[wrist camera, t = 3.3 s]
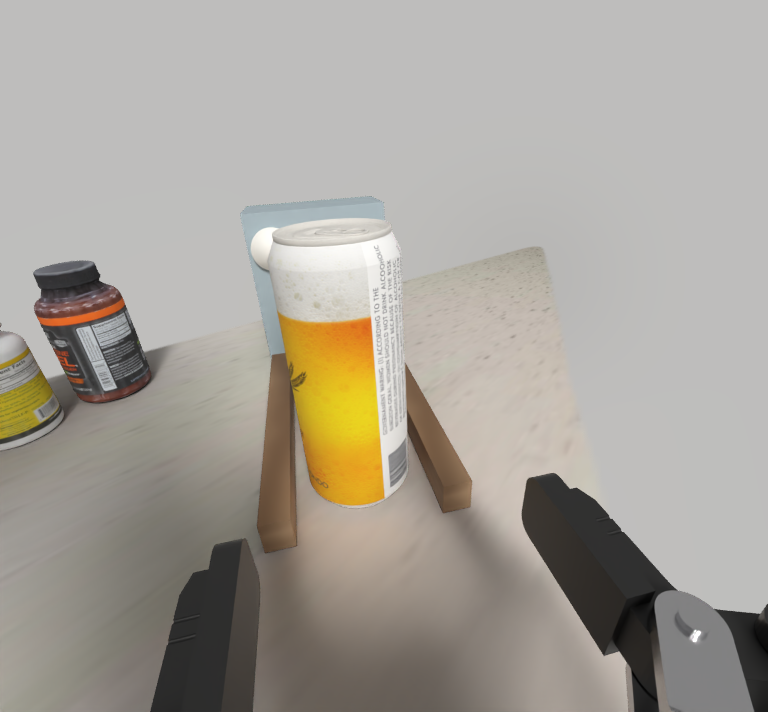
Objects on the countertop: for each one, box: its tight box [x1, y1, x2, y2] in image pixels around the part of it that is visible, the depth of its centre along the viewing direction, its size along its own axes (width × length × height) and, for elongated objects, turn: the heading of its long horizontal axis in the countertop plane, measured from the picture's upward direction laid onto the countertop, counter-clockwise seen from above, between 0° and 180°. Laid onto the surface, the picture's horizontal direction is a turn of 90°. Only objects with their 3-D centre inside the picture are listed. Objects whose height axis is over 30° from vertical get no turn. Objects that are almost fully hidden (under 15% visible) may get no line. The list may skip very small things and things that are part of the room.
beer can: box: [267, 218, 409, 508], centre depth 21 cm, size 6×6×15 cm
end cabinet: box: [240, 196, 385, 360], centre depth 38 cm, size 12×6×14 cm, turn 102°
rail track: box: [257, 353, 472, 553], centre depth 29 cm, size 11×19×2 cm, turn 13°
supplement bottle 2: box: [33, 261, 151, 403], centre depth 33 cm, size 6×6×11 cm
